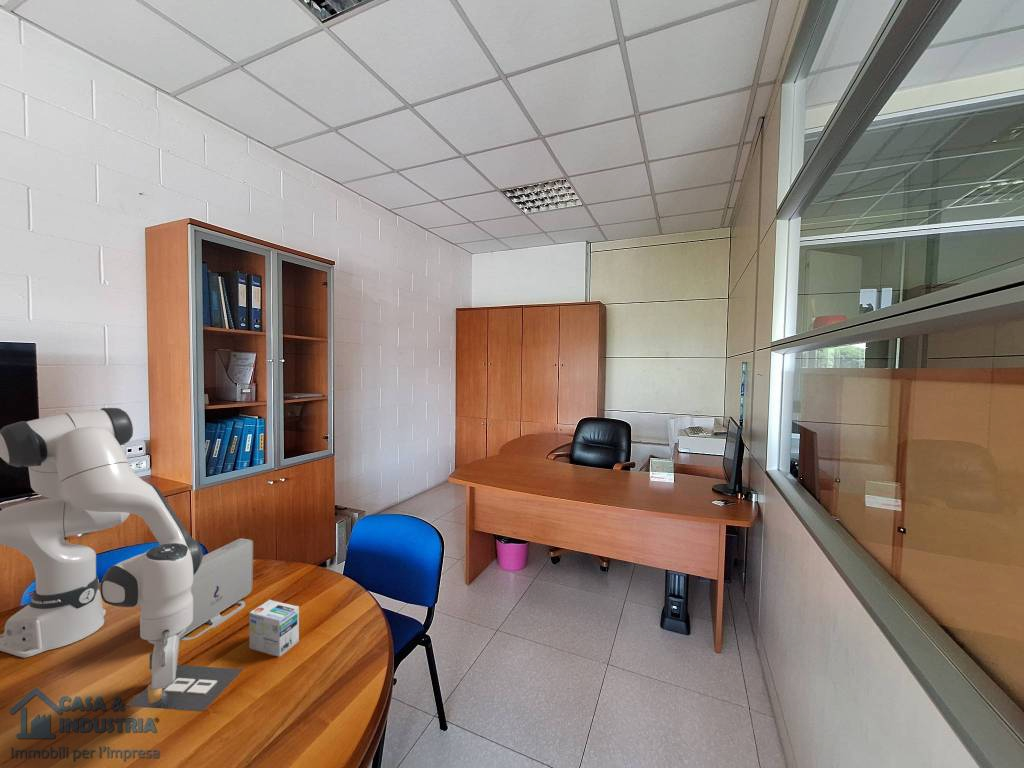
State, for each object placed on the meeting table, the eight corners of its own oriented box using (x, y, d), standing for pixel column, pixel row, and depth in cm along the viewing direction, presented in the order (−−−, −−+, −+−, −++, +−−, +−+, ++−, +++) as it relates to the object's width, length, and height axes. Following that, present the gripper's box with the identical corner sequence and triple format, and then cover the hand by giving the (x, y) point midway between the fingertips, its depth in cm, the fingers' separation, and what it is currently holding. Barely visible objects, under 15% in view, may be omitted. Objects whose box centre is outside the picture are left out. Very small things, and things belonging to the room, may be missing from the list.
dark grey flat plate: (125, 708, 86) (125, 705, 86) (174, 666, 98) (174, 664, 98) (203, 713, 85) (203, 711, 85) (243, 671, 97) (243, 669, 97)
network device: (177, 652, 103) (177, 579, 102) (151, 646, 105) (151, 574, 104) (258, 598, 128) (258, 538, 127) (236, 594, 130) (236, 535, 129)
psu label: (163, 691, 90) (163, 689, 90) (177, 679, 94) (177, 677, 94) (182, 692, 90) (182, 691, 90) (195, 680, 93) (195, 678, 93)
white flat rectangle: (186, 692, 90) (186, 691, 90) (199, 680, 93) (199, 679, 93) (204, 694, 90) (204, 692, 90) (217, 681, 93) (217, 680, 93)
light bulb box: (299, 642, 108) (300, 605, 108) (279, 660, 101) (279, 620, 101) (269, 634, 111) (270, 598, 110) (247, 650, 104) (248, 612, 104)
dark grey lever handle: (150, 663, 92) (150, 651, 92) (170, 656, 94) (170, 644, 94) (142, 706, 80) (142, 693, 80) (166, 698, 83) (166, 684, 83)
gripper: (183, 640, 79) (183, 705, 80) (188, 593, 95) (187, 647, 96) (141, 653, 75) (141, 721, 76) (153, 602, 91) (153, 658, 92)
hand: (167, 679), depth 86 cm, fingers closed
